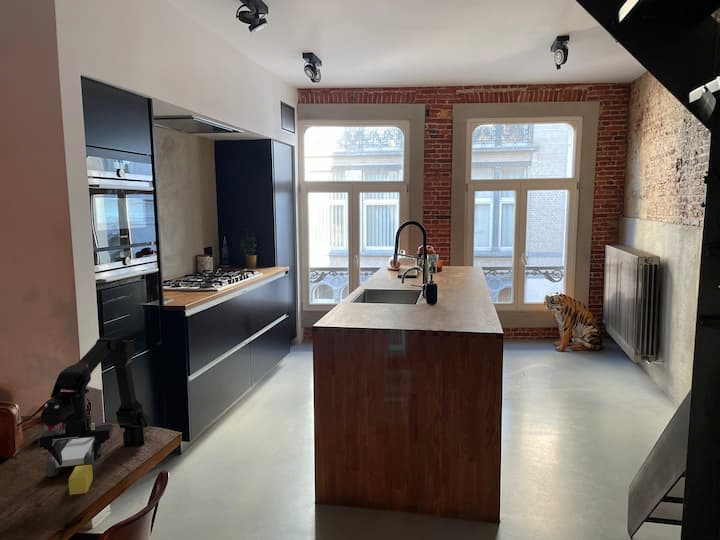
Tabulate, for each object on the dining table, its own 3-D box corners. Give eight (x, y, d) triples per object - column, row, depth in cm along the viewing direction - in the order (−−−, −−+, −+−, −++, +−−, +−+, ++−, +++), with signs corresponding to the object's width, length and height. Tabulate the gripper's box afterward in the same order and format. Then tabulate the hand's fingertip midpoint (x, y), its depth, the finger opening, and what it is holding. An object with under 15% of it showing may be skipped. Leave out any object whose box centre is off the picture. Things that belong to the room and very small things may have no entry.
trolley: (64, 454, 175) (62, 425, 174) (103, 449, 178) (102, 421, 177) (47, 480, 158) (45, 448, 157) (91, 475, 161) (89, 443, 160)
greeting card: (106, 426, 198) (103, 389, 197) (87, 433, 192) (85, 395, 190) (87, 421, 204) (85, 384, 202) (69, 427, 197) (67, 390, 196)
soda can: (70, 430, 194) (68, 400, 193) (58, 438, 187) (56, 407, 186) (53, 430, 195) (51, 399, 194) (40, 438, 188) (38, 406, 187)
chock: (93, 479, 158) (92, 464, 158) (86, 493, 151) (85, 477, 150) (76, 481, 157) (75, 466, 157) (69, 495, 150) (68, 479, 149)
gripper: (115, 399, 160) (117, 447, 162) (48, 405, 155) (51, 454, 157) (107, 412, 149) (110, 463, 151) (35, 419, 144) (39, 472, 146)
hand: (78, 463), depth 151 cm, fingers open, 9 cm apart
